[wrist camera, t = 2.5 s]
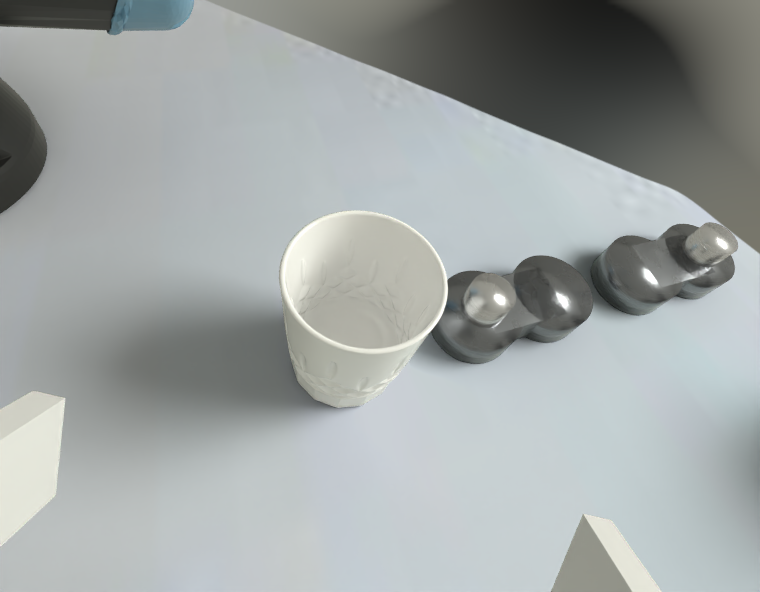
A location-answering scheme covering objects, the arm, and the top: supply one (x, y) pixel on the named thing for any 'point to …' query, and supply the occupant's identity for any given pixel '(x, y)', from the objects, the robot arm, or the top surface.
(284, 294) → the white cup
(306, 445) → the top surface
